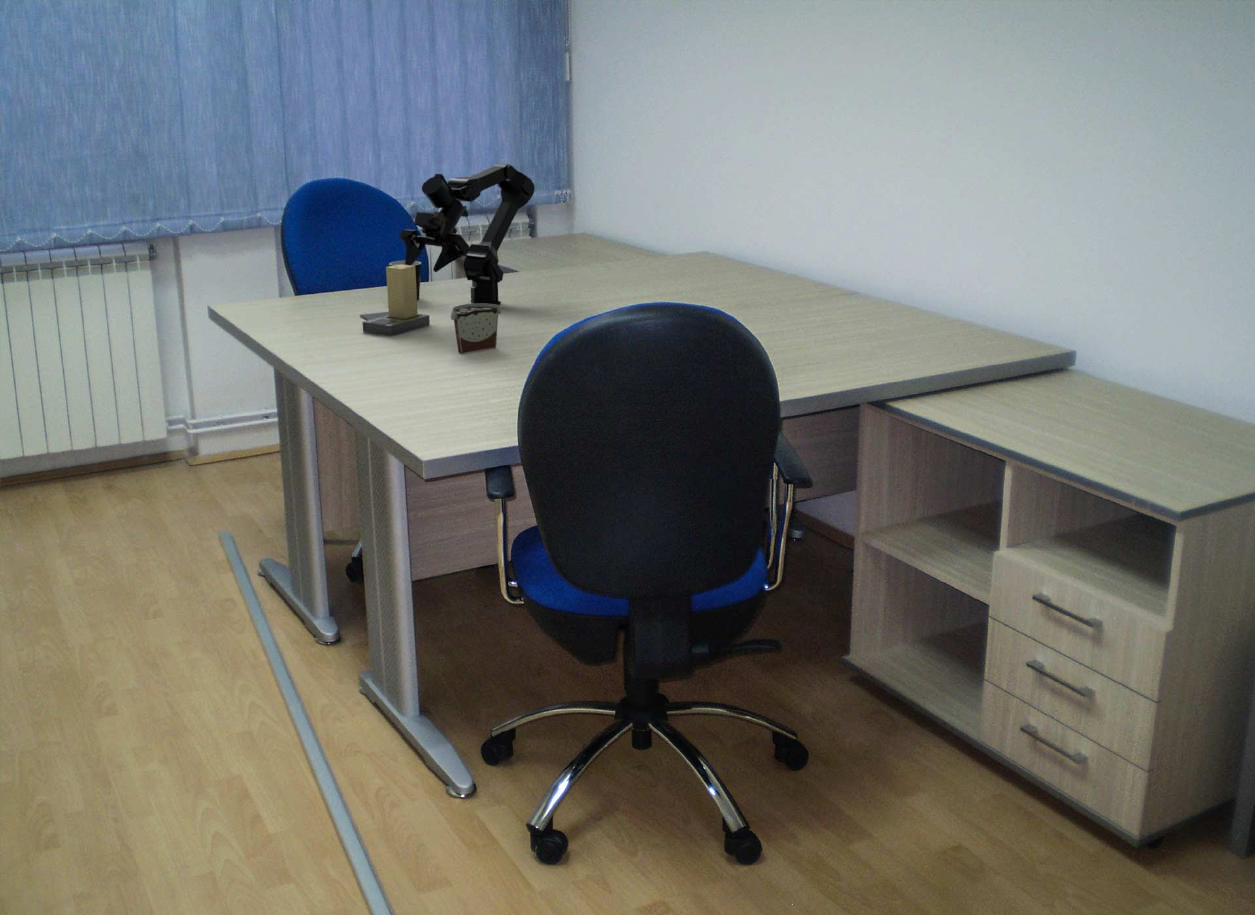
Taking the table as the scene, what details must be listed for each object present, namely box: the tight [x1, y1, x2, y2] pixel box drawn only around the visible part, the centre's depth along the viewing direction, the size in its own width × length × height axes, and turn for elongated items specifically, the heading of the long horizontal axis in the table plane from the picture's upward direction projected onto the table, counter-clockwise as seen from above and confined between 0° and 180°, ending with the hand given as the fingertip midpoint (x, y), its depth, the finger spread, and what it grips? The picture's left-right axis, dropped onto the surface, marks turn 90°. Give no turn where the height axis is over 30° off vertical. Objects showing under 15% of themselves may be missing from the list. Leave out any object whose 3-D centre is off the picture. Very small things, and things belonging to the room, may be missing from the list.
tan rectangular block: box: [385, 264, 419, 320], centre depth 314 cm, size 5×5×15 cm
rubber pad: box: [359, 311, 389, 321], centre depth 326 cm, size 10×10×1 cm
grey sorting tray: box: [361, 313, 431, 337], centre depth 314 cm, size 14×9×3 cm, turn 149°
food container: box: [450, 303, 501, 355], centre depth 293 cm, size 12×6×10 cm, turn 129°
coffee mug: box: [388, 260, 422, 302], centre depth 348 cm, size 12×9×10 cm
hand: (420, 269), depth 318 cm, fingers open, 9 cm apart
